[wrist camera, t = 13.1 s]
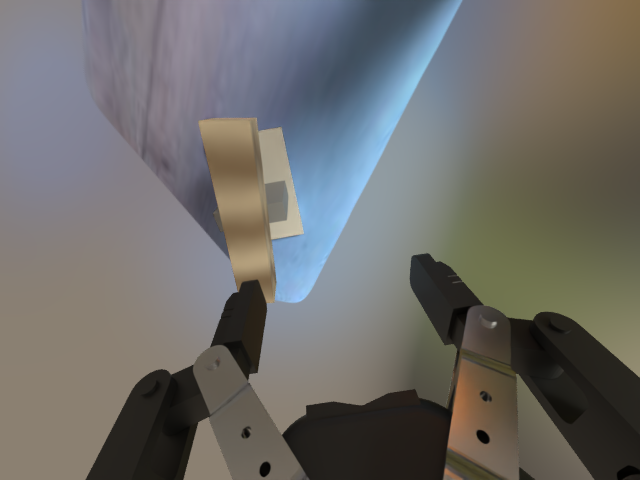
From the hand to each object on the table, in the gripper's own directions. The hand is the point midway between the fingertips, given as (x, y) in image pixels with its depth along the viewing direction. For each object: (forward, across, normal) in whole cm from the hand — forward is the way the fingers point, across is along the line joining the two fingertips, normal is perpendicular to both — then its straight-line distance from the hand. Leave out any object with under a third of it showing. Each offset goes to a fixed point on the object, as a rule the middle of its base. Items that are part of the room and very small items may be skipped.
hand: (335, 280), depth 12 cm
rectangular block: (+16, +8, +2) cm, 18 cm away
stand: (+26, +8, +3) cm, 27 cm away
